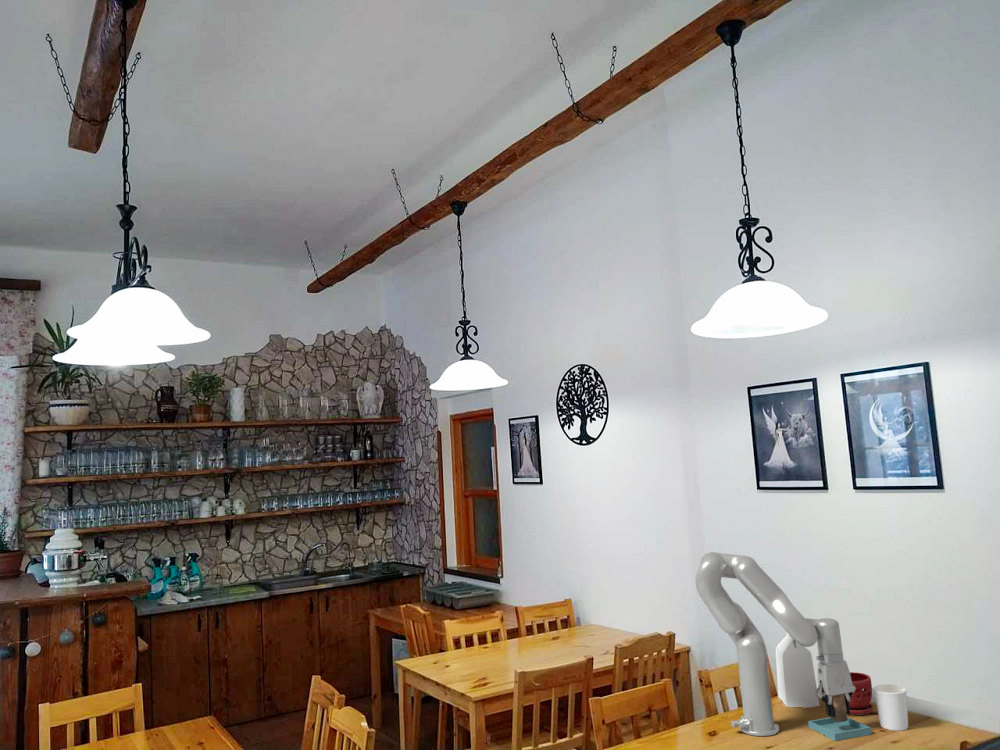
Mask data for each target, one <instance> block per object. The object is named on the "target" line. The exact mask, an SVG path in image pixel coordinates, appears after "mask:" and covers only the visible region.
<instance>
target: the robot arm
mask: <svg viewBox="0 0 1000 750" xmlns="http://www.w3.org/2000/svg"><path fill="white" fill-rule="evenodd" d="M695 575H696V576H695V586H696V587H695V588H696V590H697V593H698V595H699V597H700V598H701V600H702V601H703V602H704V604H705V606H706V608H707V609H708V611H709V612H710V613H711V616H712V617H713V618H714V619H715V621H716V623H717V624H718V626H719V628H721V630H722V631H724V632H725V633H727V634H728V636H729V638H730V640H731V641H732V642H733V643H734V645H735V648H736V655H737V657H736V658H737V664H738V674H739V677H738V678H739V683H740V693H741V704H742V712H743V713H742V715H741V716H740V718H739V719H738V720H731V721H730V724H731V727H732V728H736V727H738V728H739V730H740V732H742V733H744V734H746V735H750V736H754V737H769V736H774V735H776V733H777V734H778V733H779V732H780V726H779V725H778V724H777V723H775V721H774V713H773V704H772V694H771V684H770V676H769V665H768V650H767V646H766V642H765V640H764V638H763V635H762V634H761V632H760V631H759V630H758V628H757V627H756V626H755V624H754V623H753V621H752V619H751V618H750V617H749V616H748V614H747V613H746V612H745V610H744V609H743V607H742V606H741V605H740V604H738V603H737V602H735V601H733V599H732V598H731V596H730V595H729V593H728V591H727V590H726V589H725V588H724V586H723V584H722V579H723V578H725V579H726V578H728V579H736V580H738V581H739V582H740V583H741V585H743V587H744V588H745V589H746V590H747V591H748V592H749V593H750V594H751V595H752V596H753V597H754V598H755V600H756V601H758V603H759V604H760V605H761V606H762V607H763V608H764V609H765V610H766V612H767V613H768V614H769V615H771V617H772V618H773V619H774V620H775V621H777V622H778V624H779V625H780V626H781V627H782V628H783V629H784V631H785V632H786V634H787V633H788V634H789V635H790V636H791V637H792V638H793V639H794V640H795V641H796V642H797V643H798V644H800V645H801V646H804V647H805V648H809V647H812V646H814V645H815V644H816V643H817V644H816V645H817V651H818V656H816V661H818V663H817V683H818V687H817V691H816V693H815V695H816V696H817V697H818V699H820V700H821V701H822V703H824V705H825V712H826V715H827V716H829V717H830V716H831V717H834V716H835V714H834V706H833V704H831V703H832V696H836V695H840V694H844V695H845V703H846V710H847V715H849V714H850V707H849V701H850V698H851V696H852V694H853V692H854V691H855V689H856V688H855V686H854V685H853V684H852V680H851V676H850V668H849V666H848V662H847V661H846V660H844V651H843V646H842V645H843V644H842V636H841V629H840V623H839V622H838V621H837V619H835V618H828V617H827V618H819V619H814V618H807V617H805V616H803V615H802V614H801V612H800V611H799V609H797V608H796V607H795V606H794V604H793V603H792V602H791V601H790V599H789V598H788V596H787V594H786V593H785V592H784V591H783V590H782V589H781V587H780V586H779V585H778V584H777V583H776V582H775V581H774V580H773V579H772V578H771V577H770V576H769V575H768V574H767V573H766V572H765V571H764V570H763V568H762V567H760V565H759V564H758V563H757V561H756V560H755V559H754V558H753V557H751V556H749V555H748V556H747V555H741V554H731V553H730V554H729V553H723V552H714V551H711V552H708V553H705V554H704V555H703V556H702V557H701V558H700V562H699V567H698V568H697V571H696V574H695Z"/></svg>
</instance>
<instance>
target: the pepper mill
mask: <svg viewBox="0 0 1000 750" xmlns="http://www.w3.org/2000/svg"><path fill="white" fill-rule="evenodd" d="M831 704H833V706H834V714H835V716H834V717H831V716H829V717H830V718H831V720H832V721H836V722H845V721H847V720H848V718H849V717H848V714H847V710H846V703H845V695H844V694H840V695H836V696H832V703H831ZM847 717H848V718H847Z"/></svg>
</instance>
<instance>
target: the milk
mask: <svg viewBox="0 0 1000 750" xmlns="http://www.w3.org/2000/svg"><path fill="white" fill-rule="evenodd" d="M775 662H776V663H775V665H776V679H777V696H778V697H779V698H780V699H781V700H782V701H783V703H784V704H785V705H786V706H787V707H803V708H817V707H816V706H820V701H819V697H817V696H816V695H815V693H816V691H817V689H818V687H817V681H816V676H815V675H816V673H815V668H814V667H815V666H814V662H813V655H812V652H811V651H810V650H809V649H808V648H807V647H804V646H801V645H800V644H798V643H797V642H796V641H795V640H794V639H793V638H792V637H791V636H790V635H789V634H788V633H787V632H786V636H785V637H783V639H782V640H781V641H779V643H777V645H776V647H775ZM779 698H778V699H779ZM780 699H779V700H780ZM783 703H782V704H783ZM784 704H783V705H784ZM785 705H784V706H785ZM814 706H815V707H814Z"/></svg>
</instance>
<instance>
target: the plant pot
mask: <svg viewBox="0 0 1000 750" xmlns="http://www.w3.org/2000/svg"><path fill="white" fill-rule="evenodd" d="M850 676H851V680H852V684H853V685H854V686H855V688H856V689H855V691H854V692H853V694H852V696H851V698H850V701H849V707H850V714H848V715H849V716H852V715H853V716H864V715H868V714H870V713H872V711H873V710H874V705H873V704H871V702H872V699H873V685H872V679H871V676H870V675H869V674H866V673H863V672H862V673H861V672H854V671H853V672H850Z"/></svg>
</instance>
